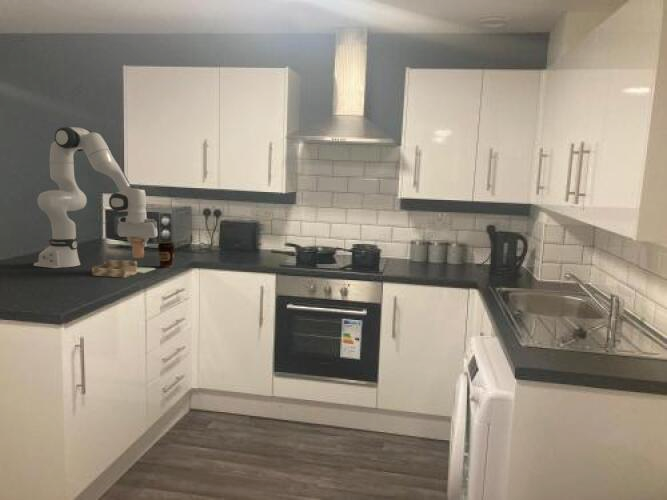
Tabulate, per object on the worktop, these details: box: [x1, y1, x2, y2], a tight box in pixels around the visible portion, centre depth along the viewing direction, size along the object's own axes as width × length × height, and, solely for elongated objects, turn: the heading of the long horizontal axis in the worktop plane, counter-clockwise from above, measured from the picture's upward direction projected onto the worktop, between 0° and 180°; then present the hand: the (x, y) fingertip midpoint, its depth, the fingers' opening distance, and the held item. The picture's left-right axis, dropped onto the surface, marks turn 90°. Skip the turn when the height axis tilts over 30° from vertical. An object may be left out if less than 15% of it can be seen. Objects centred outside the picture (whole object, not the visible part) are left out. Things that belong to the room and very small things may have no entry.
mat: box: [137, 266, 156, 274], centre depth 291 cm, size 12×12×1 cm
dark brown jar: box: [157, 241, 176, 268], centre depth 302 cm, size 9×8×13 cm
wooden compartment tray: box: [91, 258, 138, 278], centre depth 279 cm, size 17×11×6 cm, turn 79°
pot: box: [131, 237, 145, 259], centre depth 289 cm, size 6×6×10 cm
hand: (138, 246), depth 289 cm, fingers closed on pot, 5 cm apart
